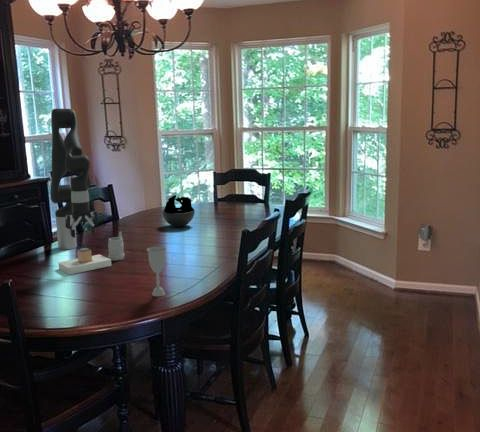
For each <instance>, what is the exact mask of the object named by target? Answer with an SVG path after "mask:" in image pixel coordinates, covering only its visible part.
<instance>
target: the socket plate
mask: <svg viewBox="0 0 480 432" xmlns="http://www.w3.org/2000/svg"><path fill="white" fill-rule="evenodd" d="M57 265H58V269H59V270H60V271H62V272H64V273H65V274H67V275H74V274H80V273H85V272H90V271H94V270H98V269H103V268H108V267H112V260H111V259H109V257H108V256H104V255H102V254H95V255H92V262H87V263H82V264H81V263H79V262H78V258H75V259H69V260H65V261H59V262H58V264H57Z"/></svg>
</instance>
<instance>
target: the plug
mask: <svg viewBox="0 0 480 432" xmlns="http://www.w3.org/2000/svg"><path fill="white" fill-rule="evenodd" d="M76 252H77V259H78V262H79V263H81V264H82V263H87V262H92V256H93V255H92V250H91V249H90V248H87V247H83V248H79V249H78V250H77V251H76Z"/></svg>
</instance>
